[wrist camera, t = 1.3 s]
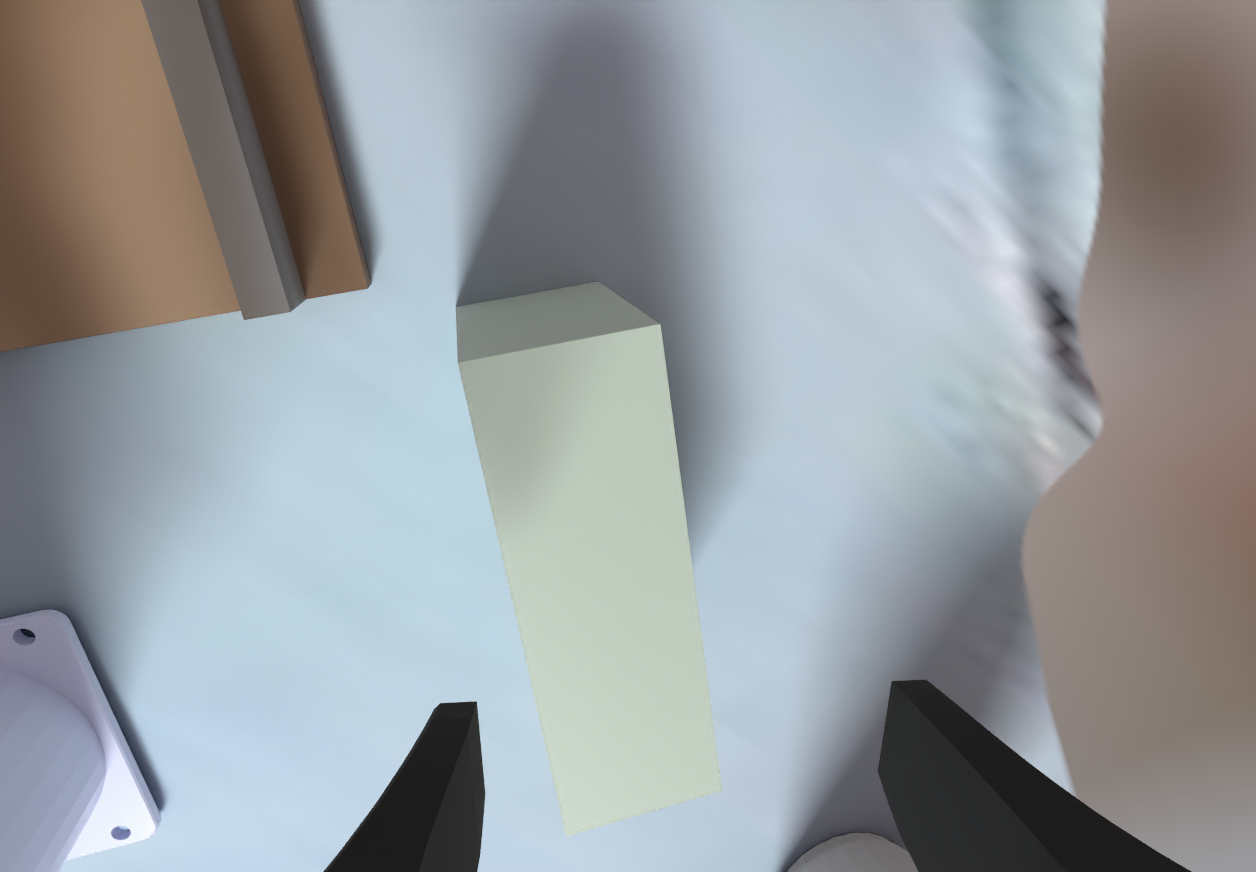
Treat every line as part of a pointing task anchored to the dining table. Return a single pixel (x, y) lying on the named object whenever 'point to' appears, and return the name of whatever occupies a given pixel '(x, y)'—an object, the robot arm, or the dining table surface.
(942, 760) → the robot arm
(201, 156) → the track
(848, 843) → the coffee cup
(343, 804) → the dining table surface
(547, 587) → the pale green block
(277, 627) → the dining table surface
